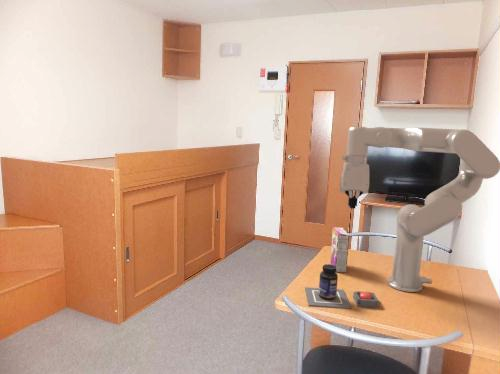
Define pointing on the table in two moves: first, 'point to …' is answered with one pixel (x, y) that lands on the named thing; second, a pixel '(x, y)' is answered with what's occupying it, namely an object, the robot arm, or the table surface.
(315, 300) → the gray square pad
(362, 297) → the button
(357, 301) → the button housing
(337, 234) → the candy bar box
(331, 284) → the pill bottle
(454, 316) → the table surface
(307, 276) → the table surface
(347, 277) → the table surface
